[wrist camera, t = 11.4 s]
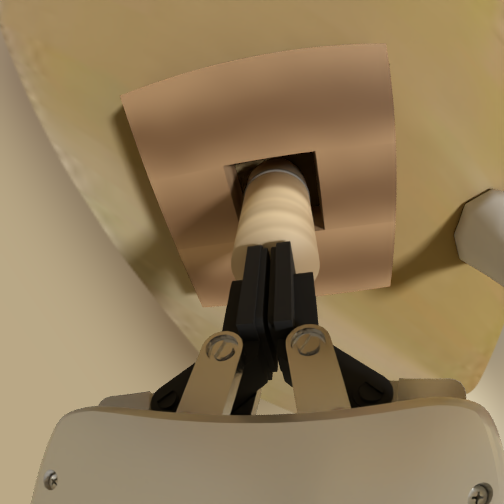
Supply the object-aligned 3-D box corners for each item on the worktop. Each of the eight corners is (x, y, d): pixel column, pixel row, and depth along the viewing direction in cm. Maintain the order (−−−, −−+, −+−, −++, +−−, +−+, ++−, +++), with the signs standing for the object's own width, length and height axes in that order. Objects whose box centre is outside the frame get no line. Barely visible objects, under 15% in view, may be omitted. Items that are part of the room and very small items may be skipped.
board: (141, 87, 16) (120, 95, 14) (369, 43, 14) (385, 43, 11) (209, 280, 26) (202, 307, 23) (380, 260, 23) (390, 286, 21)
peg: (242, 156, 19) (218, 235, 12) (301, 146, 18) (316, 222, 11) (255, 206, 21) (241, 302, 14) (309, 198, 20) (323, 294, 13)
